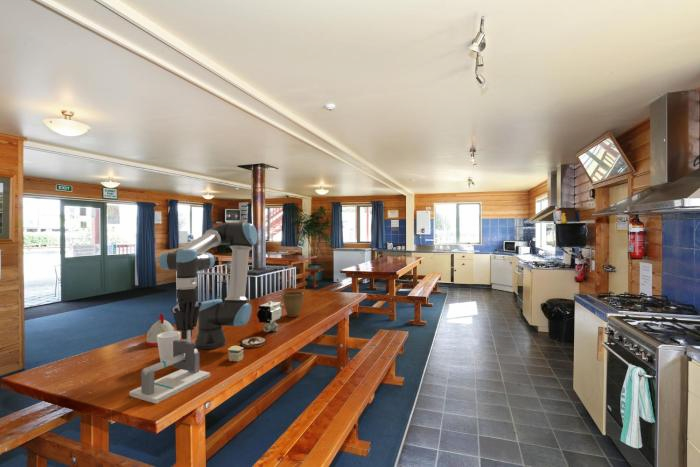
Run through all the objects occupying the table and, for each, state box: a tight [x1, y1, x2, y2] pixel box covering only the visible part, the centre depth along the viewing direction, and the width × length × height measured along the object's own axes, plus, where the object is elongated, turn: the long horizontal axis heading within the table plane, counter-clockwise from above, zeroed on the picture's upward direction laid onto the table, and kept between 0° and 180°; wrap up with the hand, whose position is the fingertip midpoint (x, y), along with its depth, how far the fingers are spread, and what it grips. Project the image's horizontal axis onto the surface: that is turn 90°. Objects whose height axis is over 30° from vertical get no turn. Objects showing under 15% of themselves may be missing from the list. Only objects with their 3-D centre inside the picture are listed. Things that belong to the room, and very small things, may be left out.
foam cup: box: [157, 330, 182, 366], centre depth 152 cm, size 10×9×13 cm
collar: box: [172, 340, 195, 371], centre depth 135 cm, size 10×2×11 cm, turn 66°
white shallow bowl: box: [241, 336, 267, 349], centre depth 178 cm, size 15×15×4 cm
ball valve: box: [256, 300, 283, 333], centre depth 201 cm, size 18×8×18 cm, turn 163°
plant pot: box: [282, 291, 304, 318], centre depth 238 cm, size 15×15×16 cm
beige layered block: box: [227, 345, 245, 362], centre depth 157 cm, size 10×9×6 cm
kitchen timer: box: [145, 313, 176, 347], centre depth 182 cm, size 14×14×15 cm
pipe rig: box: [128, 348, 211, 405], centre depth 130 cm, size 14×24×11 cm, turn 156°
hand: (186, 346), depth 136 cm, fingers closed
